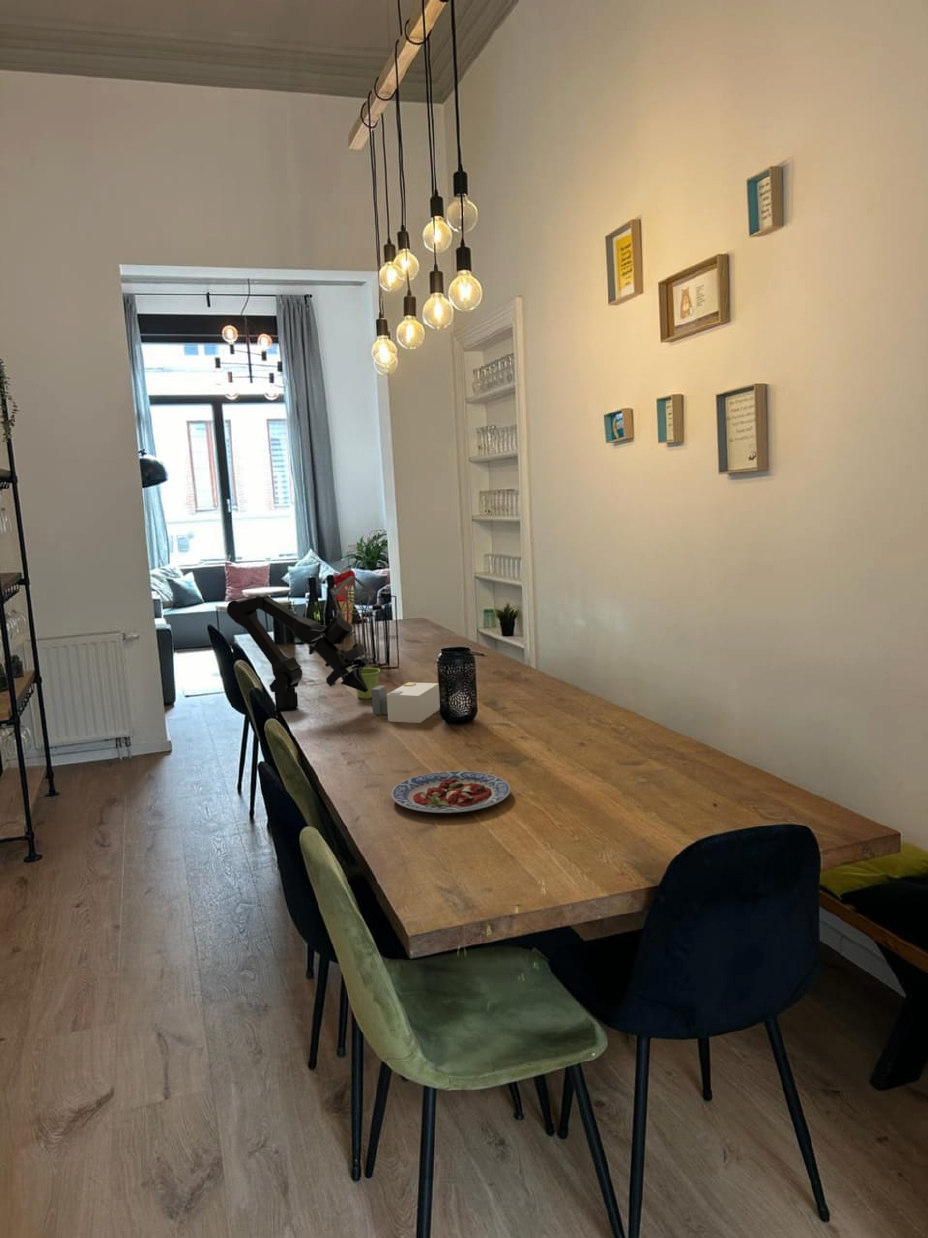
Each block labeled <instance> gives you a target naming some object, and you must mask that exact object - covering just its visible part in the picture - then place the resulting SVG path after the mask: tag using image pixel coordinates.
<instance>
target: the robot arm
mask: <svg viewBox="0 0 928 1238" xmlns="http://www.w3.org/2000/svg"><path fill="white" fill-rule="evenodd" d="M257 610H261V611H263V612H264V613H266V614H267V615H269V616H270V617H272V618H274V619H275V620H276V621H278V622H279V623H281V624H283V625H284V626H286V627H287V628H289V629H290V630H291V632H292V634H293V636H295V637H296V638H297V639H299V640H300V642H302V643H303V644H304V643H305V644H307V643H308V644H309V643H312V642H313V641H314V642H315V643H313V644H311V645H308V648H309V650H308V654H309V655H313V654H318V656H320V658H321V659H322V660H323V661H325V664H324V666H325V667H326V668H328V667H330V668H331V670H332V671H331V672H330V674H329V675H328V676H327V677H326V679H325V681H326V684H327V685H328V687H330V688H332V687H334V686H335V685H337V683H336V682H337V681H338V680H339V679H341V680H342V681H341V682H340V685H344V686H346V687H349V688H353V689H355V690H356V689H357V690H360V691H362V692H367V691H368V688H367V686H366V684H365V682H364V680H363V678H362V675H361V670H362V669H363V668H366V667H367V663H368V662H369V663H370V661H368V660H369V659H366V658H367V657H366V656H365V655H366V654H365V649H366V647H365V646H362V644H361V643H359V642H358V643H356V644H355V643H354V644H353V645H352V648H349V649H348V650H347V649H346V650H345V649H344V648H343V649H342V648H341V650H340V649H339V646H338V645H339V644H341V645H342V644H343V643H344V640H345V639H347V638H348V637H349V635H350V634H351V633H352V632H353V631H354V628H353V626H352V625H351V624H350V622H349V621H346V620H343V618H342V619H340V616H339V615H338V616H337V615H335V616H334V617H332V619H331V621H330V623H328V625H322V624H321V623H320V622H318V621H316V620H313V619H311V618H308V617H303V616H300V615H298V614H297V613H295V612H293V611H292V610H290V609H289V608H288V607H285V606H284V605H282V604H281V603H279V602H278V601H277V600H274V599H273V598H272V597H271V596H270V595H268V594H261V595H257V596H255V597H253V598H245V597H243V598H240V599H234V600H231V601H229V602H228V604H227V607H226V613H227V615H228V616H229V618H230V619H231V620H233V622H235V623H236V624H237V625H239V626H241V627H243V628H244V629H245V630H246V632H247V634H249V636H250V637H251V639H252V640H253V641H254V643H255V645H256V646H257V647H258V649H260V651H261V652H262V654H263V656H264V657H266V659H267V660H268V662H269V663H270V664H271V670H272V675H273V677H274V680H272V682H271V683H270V684H269V685H268V686H269V689H270V691H271V693H274V702H275V703H274V704H275V709H274V711H275V712H282V710H283V711H284V710H286V711H296V710H298V707H299V700H298V692H297V691H296V688H297V687H298V686H299V684H300V681H301V680H302V678H303V675H304V673H303V670H302V669H301V668H302V666H301V665H300V664H299V663H298V661H297V659H296V658H295V657H294V656H291V657H287V656H285V654H284V653H283V651H282V650H281V649H280V647H279V646H278V645H277V644H276V642H275V641H274V639H273V638H272V636H271V635H270V634H269V632H268V631H267V630H266V628H265V627H264V626H263V625H262V623H261V622H260V620H259V617H258V611H257ZM322 636H323V637H322ZM336 644H337V646H336ZM361 655H362V657H361ZM365 657H366V658H365ZM355 658H358V659H356V660H355ZM369 663H368V664H369ZM365 666H366V667H365ZM357 690H356V691H357ZM284 712H285V711H284Z"/></svg>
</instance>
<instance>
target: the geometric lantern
mask: <svg viewBox="0 0 928 1238" xmlns="http://www.w3.org/2000/svg"><path fill="white" fill-rule="evenodd" d="M355 582H356V583H357V584H358V585H359V586H361V587H362V588H357V586H356V583H355ZM345 588H347V589H346V590H344V589H345ZM352 588H353V589H352ZM365 590H366V591H367V592H366V591H365ZM328 591H329V592H330V593H331V596H332V600H333V602H334V603H335V608H336V616H338V617H339V618H340V619H343V620H345V619H346V618H345V615H361V643H362V644H361V645H362V646H364V644H365V643H364V619H365V630H366V632H365V633H366V641H367V642H366V643H367V652H365V651H364V652H365V654H364V655H365V656H364V657H365V658H366V659H367V660H368V661H369V662H368V663H367V664H366V666H365V667H364V668H369V667H368V664H369V663H370V661H372V660H373V658H375V657H374V656H375V655H374V646H373V644H374V643H373V634H372V623H371V622H372V621H371V611H369V608H370V603H371V602H370V601H373V598H374V597H375V594H377V591H376V590H375V589H374V588H372V587H371V586H369V585H368V584H366V583H364V582H363V581H362V580H360V578H357V577H356V576H349V577H347V578H346V579H344V580H343V581H341V582H339V583H338V584H337V585H335V586H334V587H332V588H331V589H329V590H328ZM358 591H360V592H358ZM364 591H365V592H364ZM351 592H352V593H351ZM337 595H340V596H341V597H343V598H344V601H343V603H342V606H341V608H340V607H339V604H338V602H337V601H338V600H337V597H338V596H337ZM361 595H364V596H363V597H361V598H360V597H359V596H361ZM352 596H353V597H352ZM366 597H368V599H367V604H366V606H365V608H364V606H363V604H362V602H361V601H362V600H364V599H365V598H366ZM356 599H357V600H356ZM347 601H349V603H348V604H347V606H346V607H345V609H344V606H345V604H346V602H347ZM351 603H353V604H354V603H357V605H358V606H359V609H358V608H356V609H355V608H354V609H348V607H349V605H351ZM350 611H351V612H350ZM352 611H361V612H352ZM345 612H349V613H345ZM367 614H368V616H367ZM345 621H346V620H345ZM368 622H369V623H368ZM368 624H369V630H368ZM369 635H370V641H369ZM346 639H347V638H346ZM346 639H345V640H344V641H343V643H344V647H343V649H345V650H346V651H347V646H346V645H347V643H346ZM369 642H370V643H369ZM335 645H336V646H337V647H338V648H339V649H340V650H342V643H341V644H335ZM370 646H371V651H370ZM364 647H365V646H364ZM360 657H363V655H361V656H360ZM358 658H359V657H358ZM358 658H355V660H356V659H358Z"/></svg>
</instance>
